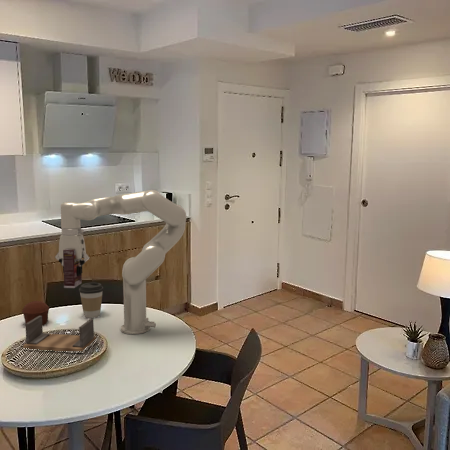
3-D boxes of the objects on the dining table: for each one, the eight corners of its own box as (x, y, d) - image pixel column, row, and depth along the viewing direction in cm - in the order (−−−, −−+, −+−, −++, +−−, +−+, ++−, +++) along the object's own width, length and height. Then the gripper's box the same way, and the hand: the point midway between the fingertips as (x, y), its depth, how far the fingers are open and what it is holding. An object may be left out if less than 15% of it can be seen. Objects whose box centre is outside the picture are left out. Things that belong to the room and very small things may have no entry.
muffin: (55, 321, 214) (54, 300, 213) (36, 329, 204) (35, 307, 203) (36, 318, 219) (35, 297, 218) (16, 325, 209) (15, 303, 208)
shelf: (96, 341, 191) (95, 317, 190) (82, 354, 179) (81, 328, 177) (41, 337, 195) (40, 314, 194) (23, 350, 182) (22, 325, 181)
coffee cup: (109, 314, 224) (108, 284, 222) (91, 321, 215) (90, 289, 213) (92, 310, 230) (92, 280, 228) (74, 317, 221) (73, 285, 219)
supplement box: (75, 288, 194) (73, 250, 191) (63, 288, 194) (62, 250, 192) (82, 282, 202) (81, 246, 200) (71, 282, 202) (70, 246, 200)
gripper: (94, 231, 197) (96, 273, 200) (56, 230, 200) (58, 272, 202) (86, 234, 190) (87, 278, 192) (47, 232, 193) (49, 276, 195)
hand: (72, 274), depth 197 cm, fingers closed on supplement box, 5 cm apart
